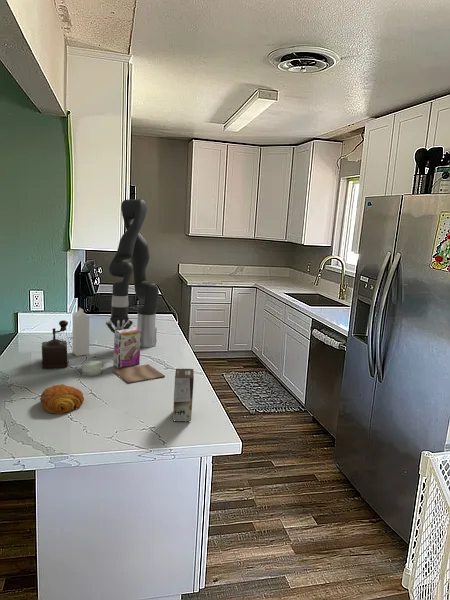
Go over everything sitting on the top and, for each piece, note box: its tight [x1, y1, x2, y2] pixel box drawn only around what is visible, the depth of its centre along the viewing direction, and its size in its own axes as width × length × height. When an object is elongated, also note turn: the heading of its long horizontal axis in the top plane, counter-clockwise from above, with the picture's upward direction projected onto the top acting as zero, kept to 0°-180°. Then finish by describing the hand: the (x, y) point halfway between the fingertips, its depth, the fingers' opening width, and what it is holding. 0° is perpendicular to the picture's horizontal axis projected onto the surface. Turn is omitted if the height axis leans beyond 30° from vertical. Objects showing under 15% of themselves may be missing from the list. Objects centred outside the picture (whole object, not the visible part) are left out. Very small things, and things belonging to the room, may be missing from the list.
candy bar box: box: [113, 327, 141, 369], centre depth 201 cm, size 11×5×16 cm, turn 135°
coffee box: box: [172, 368, 195, 422], centre depth 155 cm, size 9×6×16 cm
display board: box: [112, 364, 166, 385], centre depth 193 cm, size 17×16×1 cm
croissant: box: [39, 383, 85, 415], centre depth 158 cm, size 14×16×8 cm
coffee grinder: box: [41, 320, 69, 370], centre depth 198 cm, size 16×11×18 cm
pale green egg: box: [81, 360, 102, 377], centre depth 191 cm, size 8×8×4 cm
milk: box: [72, 307, 90, 357], centre depth 212 cm, size 6×6×22 cm
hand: (118, 341), depth 208 cm, fingers closed
